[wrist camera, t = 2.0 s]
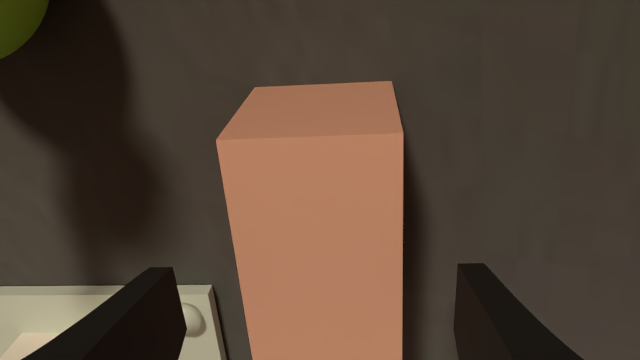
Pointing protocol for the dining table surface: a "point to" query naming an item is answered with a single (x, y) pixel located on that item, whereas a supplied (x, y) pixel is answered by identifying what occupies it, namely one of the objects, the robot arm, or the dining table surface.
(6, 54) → the snail figurine
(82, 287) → the baseplate
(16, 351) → the bottom brick
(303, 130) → the top brick
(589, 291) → the dining table surface
